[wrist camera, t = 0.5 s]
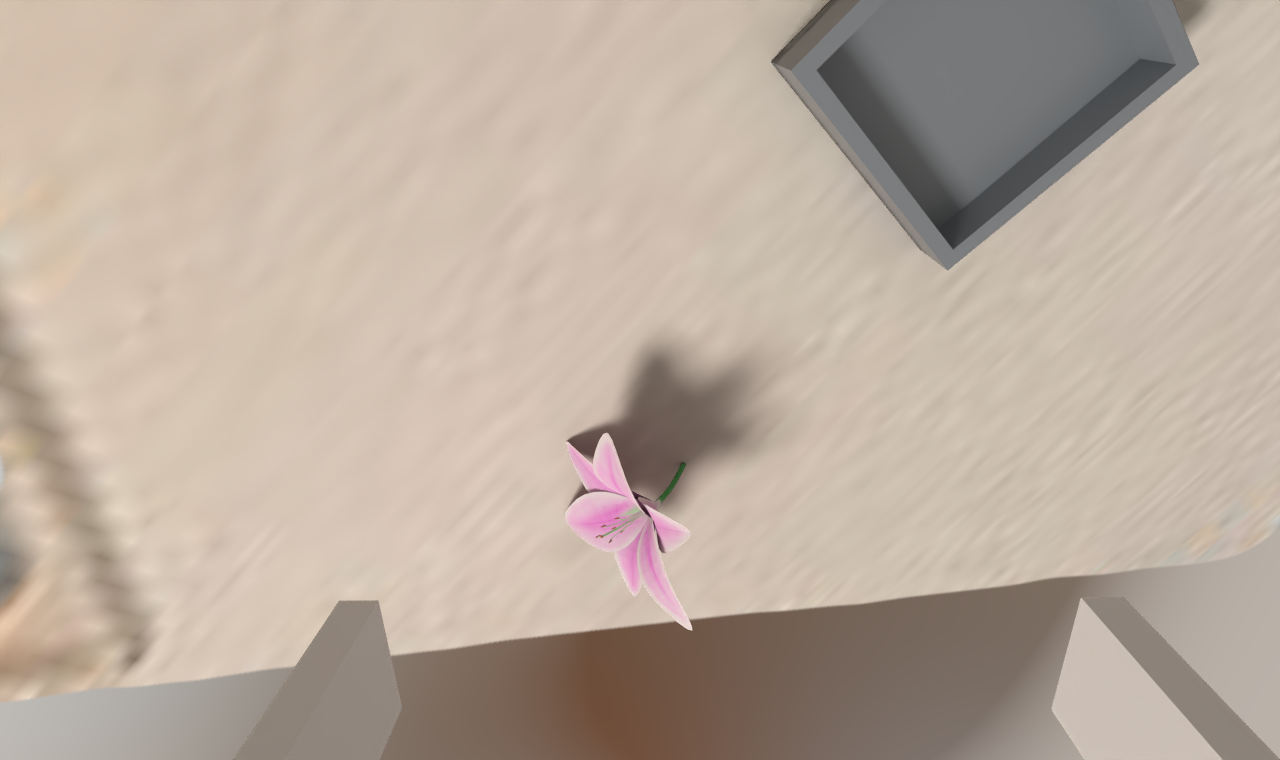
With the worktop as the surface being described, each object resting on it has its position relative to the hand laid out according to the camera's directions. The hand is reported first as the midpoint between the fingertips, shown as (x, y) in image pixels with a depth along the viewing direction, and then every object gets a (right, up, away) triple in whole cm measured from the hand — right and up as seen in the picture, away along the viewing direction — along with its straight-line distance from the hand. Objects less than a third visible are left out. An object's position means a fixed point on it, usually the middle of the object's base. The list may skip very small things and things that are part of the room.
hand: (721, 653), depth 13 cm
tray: (+14, +21, +19) cm, 31 cm away
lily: (-3, -1, +30) cm, 31 cm away
